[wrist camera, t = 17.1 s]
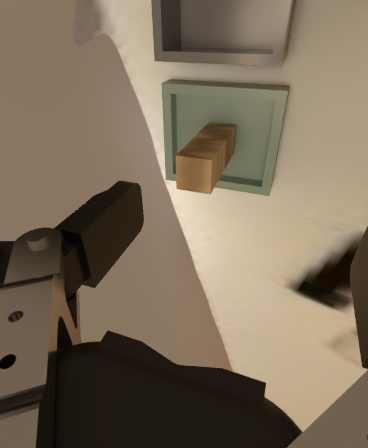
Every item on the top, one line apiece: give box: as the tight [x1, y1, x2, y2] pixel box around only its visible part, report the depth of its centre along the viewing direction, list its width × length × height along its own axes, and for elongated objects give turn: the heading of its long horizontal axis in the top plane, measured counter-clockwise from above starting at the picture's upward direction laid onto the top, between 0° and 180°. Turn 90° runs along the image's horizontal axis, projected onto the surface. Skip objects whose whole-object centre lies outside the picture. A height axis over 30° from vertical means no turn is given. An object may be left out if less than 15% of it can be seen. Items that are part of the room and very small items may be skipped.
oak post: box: [176, 122, 237, 194], centre depth 37 cm, size 4×4×13 cm
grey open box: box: [151, 0, 296, 66], centre depth 32 cm, size 14×8×7 cm, turn 91°
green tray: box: [162, 79, 290, 196], centre depth 42 cm, size 16×14×3 cm
